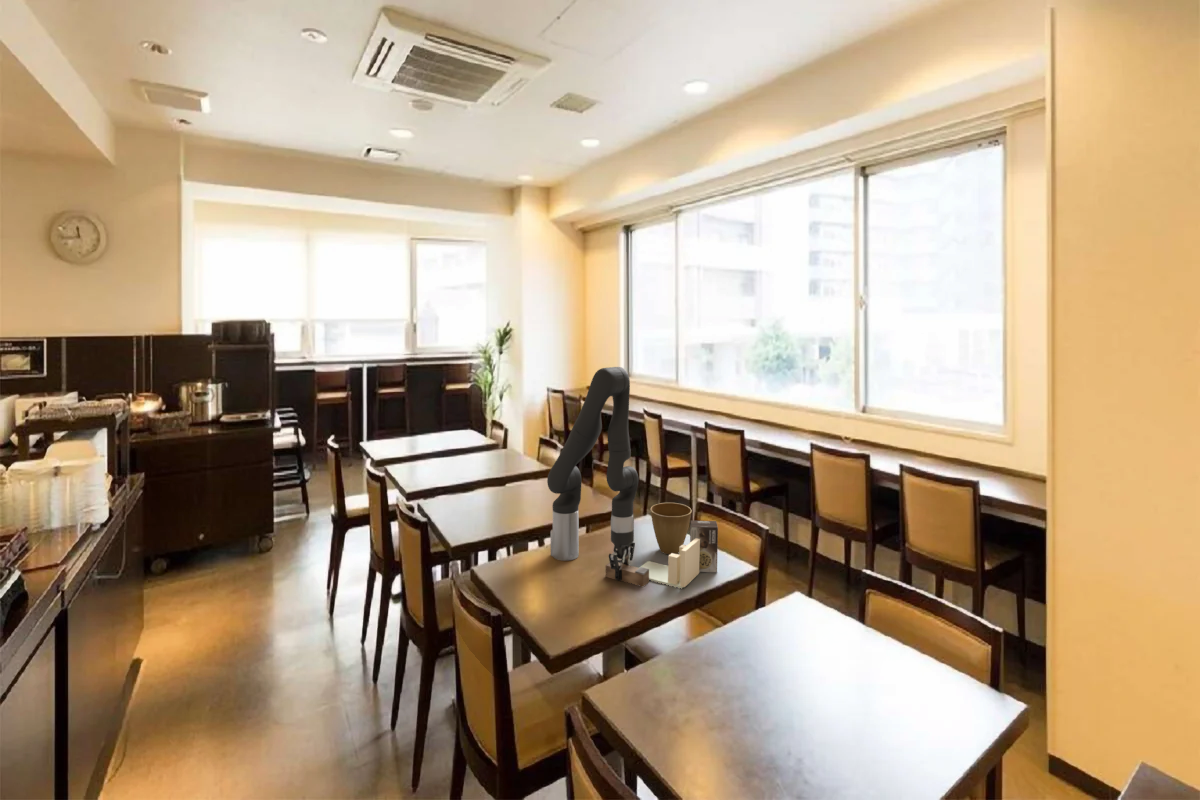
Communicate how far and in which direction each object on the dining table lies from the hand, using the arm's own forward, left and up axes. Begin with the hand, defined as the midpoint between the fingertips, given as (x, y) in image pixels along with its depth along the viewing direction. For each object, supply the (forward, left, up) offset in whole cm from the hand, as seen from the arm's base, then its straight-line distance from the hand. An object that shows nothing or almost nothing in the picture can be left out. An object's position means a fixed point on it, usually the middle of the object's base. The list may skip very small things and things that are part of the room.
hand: (621, 577), depth 197 cm
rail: (+2, 0, 0) cm, 2 cm away
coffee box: (+20, +21, -1) cm, 29 cm away
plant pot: (+4, +29, -1) cm, 29 cm away
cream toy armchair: (+11, +9, 0) cm, 15 cm away
